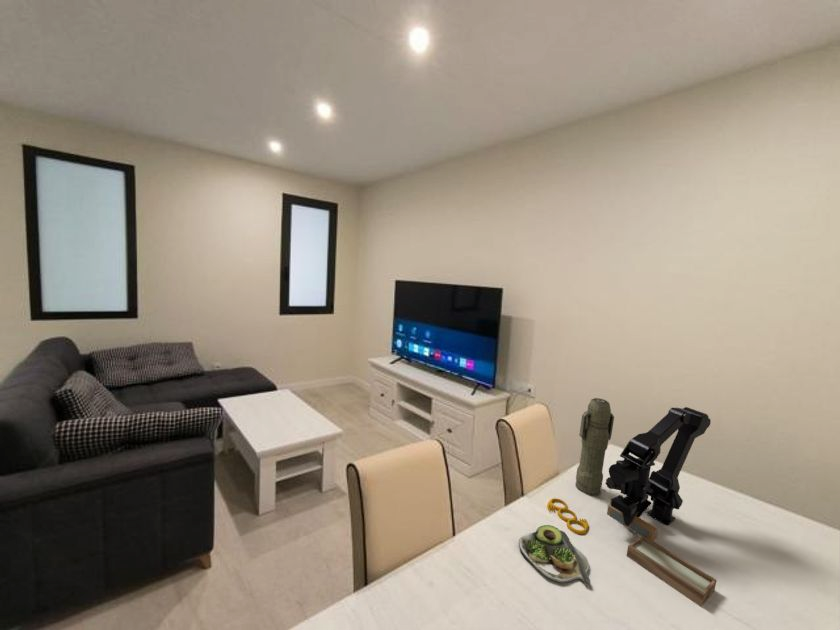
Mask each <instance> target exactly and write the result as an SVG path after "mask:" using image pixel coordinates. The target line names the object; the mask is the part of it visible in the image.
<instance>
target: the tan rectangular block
mask: <svg viewBox="0 0 840 630" xmlns="http://www.w3.org/2000/svg"><path fill="white" fill-rule="evenodd" d="M606 510H607V511H606V515H608V516H609V517H610V518H612V519H613V520H615V521H617V522H618V523H620V524H621V525H624V526H625V527H626V528H628V529H629V530H631V531H633V532H634V533H636V534H637V535H638V536H640V537H641V536H642V535H644V536H646V537H647V538H649V539H650V540H652V541H655V540H656V539H658V537H657V536H658V531H659V528H658V527H655V526H654V525H652V524H651V523H649V522H648V521H645V520H644V519H642V518H641V517H637V516H636V517H635V518H634V519H633V521H632V522H631V524H630V525H629V526H627V525H625V523H624V518H623V514H622V512H620V511H619V510H617V509H615V508H614V507H612V506H611V505H610V504H608V505H607V509H606Z"/></svg>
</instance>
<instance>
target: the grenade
mask: <svg viewBox="0 0 840 630" xmlns="http://www.w3.org/2000/svg"><path fill="white" fill-rule="evenodd" d="M614 421H615V416H614V414H613V413H612V409H611V405H610V402H609V401H608V400H606V399H603V398H598V397H596V398H595V397H594V398H591V399H590V401H589V403H588V405H587V410H586V411H584V412H583V413H582V415H581V421H580V426H579V427H580V428H579V436H580V438H581V451H580V456H579V457H580V459H579V463H578V464H579V465H578V467H576V468H577V469H576V475H575V480H576V481H575V487H576V489H577V490H578V491H580V492H581V493H583V494H585V495H589V496H599V495H600V494H601V489H602V486H603V480H604V474H603V469H604V463H605V455H606V451H607V449H608V445H609V441H610V440H611V438H612V433H613V429H614V428H613V427H614Z"/></svg>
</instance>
